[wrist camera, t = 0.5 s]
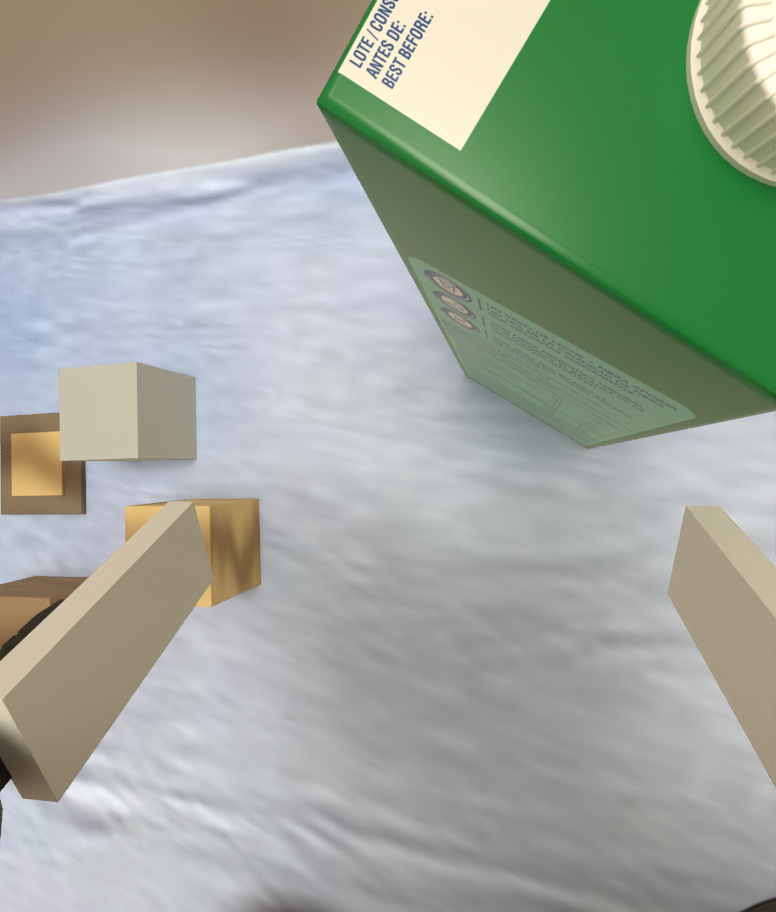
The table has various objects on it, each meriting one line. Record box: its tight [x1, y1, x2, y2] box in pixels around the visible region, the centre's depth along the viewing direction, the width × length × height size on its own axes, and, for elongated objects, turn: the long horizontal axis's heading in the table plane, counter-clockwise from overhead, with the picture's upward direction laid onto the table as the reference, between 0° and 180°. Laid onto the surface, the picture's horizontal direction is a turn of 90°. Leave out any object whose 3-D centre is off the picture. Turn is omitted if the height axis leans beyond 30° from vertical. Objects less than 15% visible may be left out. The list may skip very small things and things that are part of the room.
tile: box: [0, 413, 86, 514], centre depth 40 cm, size 8×8×1 cm
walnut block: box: [0, 576, 89, 650], centre depth 36 cm, size 8×8×6 cm
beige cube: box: [59, 362, 197, 461], centre depth 35 cm, size 6×6×6 cm
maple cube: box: [125, 499, 261, 607], centre depth 33 cm, size 6×6×6 cm
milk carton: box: [317, 0, 776, 449], centre depth 18 cm, size 9×9×25 cm
